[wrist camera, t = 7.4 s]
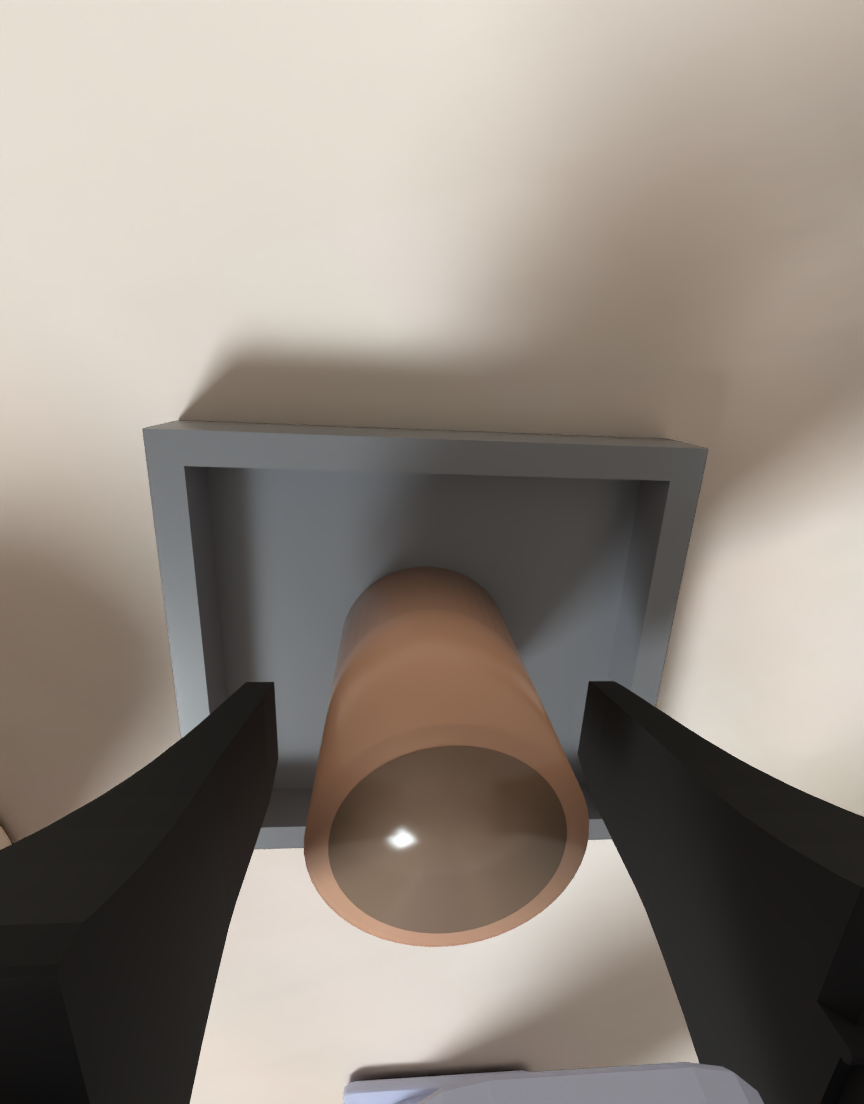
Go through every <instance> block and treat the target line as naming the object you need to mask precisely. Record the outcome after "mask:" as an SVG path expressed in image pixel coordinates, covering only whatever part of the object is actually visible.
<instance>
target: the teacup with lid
mask: <svg viewBox="0 0 864 1104" xmlns="http://www.w3.org/2000/svg"><path fill="white" fill-rule="evenodd" d="M9 845H12V843H11V841H10V839H9V838H8V836H7V834H6V833H5V831H4V830H3V828H2V827H1V826H0V850H1V849H3V848H5V847H7V846H9Z"/></svg>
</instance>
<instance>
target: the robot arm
mask: <svg viewBox="0 0 864 1104" xmlns="http://www.w3.org/2000/svg"><path fill="white" fill-rule="evenodd" d="M578 758H579V761H580V764H581V767H582V770H583V773H584V777H585V779H586V782H587V785H588V788H589V791H590V794H591V796H592V798H593V800H594V803H595V805H596V807H597V809H598V811H599V813H600V815H601V817H602V819H603V822H604V824H605V826H606V828H607V830H608V832H609V834H610V836H611V838H612V840H613V842H614V844H615V846H616V848H617V850H618V852H619V854H620V856H621V858H622V860H623V862H624V864H625V867H626V869H627V871H628V873H629V875H630V877H631V879H632V881H633V883H634V885H635V887H636V889H637V891H638V894H639V896H640V898H641V900H642V903H643V905H644V907H645V910H646V912H647V915H648V917H649V920H650V923H651V925H652V928H653V931H654V933H655V936H656V939H657V941H658V944H659V947H660V949H661V952H662V955H663V957H664V960H665V963H666V966H667V968H668V971H669V974H670V977H671V980H672V983H673V986H674V988H675V991H676V994H677V997H678V1000H679V1003H680V1005H681V1008H682V1011H683V1014H684V1017H685V1020H686V1023H687V1026H688V1029H689V1032H690V1035H691V1039H692V1042H693V1045H694V1048H695V1051H696V1054H697V1057H698V1060H699V1063H700V1064H697V1063H689V1062H678V1063H663V1064H647V1065H632V1066H617V1067H601V1068H586V1069H571V1070H555V1071H540V1072H528V1071H524V1070H519V1071H504V1072H488V1073H473V1074H457V1075H442V1076H427V1077H411V1078H396V1079H380V1080H365V1081H354V1082H350V1083H348V1084H347V1085H346V1086H345V1088H344V1093H343V1104H864V817H863V816H860V815H857V814H855V813H852V812H850V811H847V810H845V809H842V808H840V807H838V806H835V805H833V804H831V803H828V802H826V801H824V800H821V799H819V798H817V797H814V796H812V795H810V794H807V793H805V792H803V791H801V790H799V789H797V788H794V787H792V786H790V785H788V784H786V783H784V782H782V781H780V780H778V779H776V778H774V777H772V776H770V775H768V774H766V773H764V772H762V771H760V770H758V769H756V768H754V767H752V766H750V765H749V764H747V763H745V762H743V761H741V760H739V759H738V758H736V757H734V756H732V755H731V754H729V753H727V752H726V751H724V750H722V749H720V748H719V747H717V746H715V745H714V744H712V743H710V742H709V741H707V740H705V739H704V738H702V737H701V736H699V735H697V734H696V733H694V732H693V731H691V730H689V729H688V728H686V727H685V726H683V725H682V724H680V723H679V722H677V721H676V720H674V719H672V718H671V717H669V716H668V715H666V714H665V713H663V712H662V711H660V710H659V709H657V708H656V707H654V706H653V705H651V704H650V703H649V702H647V701H646V700H644V699H643V698H641V697H639V696H638V695H636V694H635V693H633V692H632V691H630V690H629V689H627V688H625V687H624V686H622V685H620V684H619V683H617V682H615V681H589V683H588V690H587V696H586V702H585V709H584V715H583V722H582V728H581V735H580V741H579V747H578ZM278 759H279V757H278V740H277V722H276V704H275V686H274V682H246V683H245V684H243V685H242V686H241V687H240V688H239V689H238V690H237V691H235V692H234V693H233V694H232V695H231V696H230V697H229V698H228V699H226V700H225V701H224V702H223V703H222V704H221V705H220V706H219V707H218V708H216V709H215V710H214V711H213V712H212V713H211V714H210V715H209V716H208V717H206V718H205V719H204V720H203V721H202V722H201V723H199V724H198V725H197V726H196V727H195V728H194V729H193V730H191V731H190V732H189V733H188V734H187V735H185V736H184V737H183V738H182V739H180V740H179V741H178V742H176V743H175V744H174V745H173V746H171V747H170V748H169V749H168V750H166V751H165V752H164V753H162V754H161V755H160V756H159V757H157V758H156V759H155V760H153V761H152V762H151V763H149V764H148V765H147V766H145V767H144V768H142V769H141V770H140V771H138V772H137V773H135V774H134V775H132V776H131V777H129V778H128V779H126V780H125V781H123V782H122V783H120V784H119V785H117V786H116V787H114V788H113V789H111V790H110V791H108V792H106V793H105V794H103V795H102V796H100V797H98V798H97V799H95V800H93V801H91V802H90V803H88V804H86V805H84V806H83V807H81V808H79V809H77V810H76V811H74V812H72V813H70V814H68V815H67V816H65V817H63V818H61V819H60V820H58V821H56V822H54V823H53V824H51V825H49V826H47V827H45V828H43V829H41V830H40V831H38V832H36V833H34V834H32V835H30V836H28V837H26V838H24V839H22V840H20V841H18V842H16V843H14V844H12V845H9V846H7V847H5V848H3V849H1V850H0V1104H189V1103H190V1099H191V1094H192V1089H193V1084H194V1079H195V1075H196V1070H197V1065H198V1060H199V1055H200V1051H201V1046H202V1041H203V1037H204V1032H205V1028H206V1023H207V1019H208V1014H209V1010H210V1005H211V1001H212V997H213V992H214V988H215V983H216V979H217V975H218V970H219V966H220V962H221V958H222V953H223V949H224V945H225V941H226V937H227V932H228V928H229V924H230V921H231V918H232V914H233V911H234V907H235V904H236V901H237V898H238V895H239V892H240V889H241V886H242V883H243V880H244V877H245V874H246V871H247V868H248V865H249V862H250V859H251V856H252V853H253V851H254V848H255V845H256V842H257V839H258V836H259V833H260V830H261V827H262V824H263V821H264V818H265V815H266V812H267V808H268V805H269V802H270V798H271V793H272V789H273V784H274V779H275V774H276V769H277V764H278Z"/></svg>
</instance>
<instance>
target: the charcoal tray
mask: <svg viewBox="0 0 864 1104" xmlns="http://www.w3.org/2000/svg"><path fill="white" fill-rule="evenodd" d="M142 429H143V437H144V445H145V453H146V461H147V469H148V477H149V485H150V493H151V501H152V509H153V517H154V525H155V533H156V541H157V549H158V557H159V565H160V573H161V581H162V589H163V598H164V606H165V614H166V622H167V630H168V638H169V646H170V654H171V662H172V670H173V678H174V686H175V694H176V702H177V710H178V718H179V726H180V734H181V739H182V738H183V737H184V736H185V735H187V734H188V733H189V732H190V731H191V730H193V729H194V728H195V727H196V726H197V725H198V724H199V723H201V722H202V721H203V720H204V719H205V718H206V717H208V716H209V715H210V714H211V713H212V712H213V711H214V710H215V709H216V708H218V707H219V706H220V705H221V704H222V703H223V702H224V701H225V700H226V699H228V698H229V697H230V696H231V695H232V694H233V693H234V692H235V691H237V690H238V689H239V688H240V687H241V686H242V685H243V684H245V683H246V682H274V686H275V704H276V722H277V740H278V757H279V759H278V764H277V769H276V774H275V779H274V784H273V789H272V793H271V798H270V802H269V805H268V808H267V812H266V815H265V818H264V821H263V824H262V827H261V830H260V833H259V836H258V839H257V842H256V845H255V848H254V849H281V848H304V834H305V828H306V822H307V817H308V811H309V806H310V801H311V795H312V790H313V785H314V779H315V774H316V769H317V763H318V758H319V753H320V747H321V742H322V737H323V731H324V726H325V721H326V715H327V710H328V704H329V699H330V694H331V688H332V683H333V678H334V672H335V667H336V662H337V656H338V651H339V646H340V640H341V635H342V630H343V625H344V622H345V619H346V617H347V614H348V612H349V610H350V608H351V607H352V605H353V604H354V602H355V601H356V599H357V598H358V597H359V596H360V595H361V594H362V593H363V592H364V591H365V590H366V589H367V588H368V587H369V586H371V585H372V584H373V583H375V582H376V581H378V580H379V579H381V578H383V577H385V576H387V575H389V574H391V573H394V572H397V571H400V570H403V569H408V568H413V567H439V568H445V569H449V570H452V571H456V572H458V573H461V574H463V575H465V576H467V577H469V578H470V579H472V580H474V581H475V582H477V583H478V584H479V585H480V586H482V587H483V588H484V589H485V590H486V591H487V592H488V593H489V594H490V596H491V597H492V598H493V600H494V601H495V603H496V604H497V606H498V608H499V610H500V612H501V614H502V616H503V619H504V621H505V623H506V625H507V627H508V630H509V632H510V634H511V636H512V638H513V641H514V643H515V645H516V647H517V649H518V652H519V654H520V656H521V658H522V660H523V663H524V665H525V667H526V669H527V671H528V674H529V676H530V678H531V680H532V682H533V685H534V687H535V689H536V691H537V693H538V696H539V698H540V700H541V702H542V704H543V707H544V709H545V711H546V713H547V715H548V718H549V720H550V722H551V724H552V726H553V728H554V731H555V733H556V735H557V737H558V739H559V742H560V744H561V746H562V748H563V750H564V753H565V755H566V757H567V759H568V761H569V764H570V766H571V768H572V770H573V772H574V775H575V777H576V779H577V781H578V783H579V786H580V788H581V790H582V792H583V795H584V798H585V801H586V805H587V808H588V816H589V837H588V840H601V839H612V838H611V836H610V834H609V832H608V830H607V828H606V826H605V824H604V822H603V819H602V817H601V815H600V813H599V811H598V809H597V807H596V805H595V803H594V800H593V798H592V796H591V794H590V791H589V788H588V785H587V782H586V779H585V777H584V773H583V770H582V767H581V764H580V761H579V758H578V747H579V741H580V735H581V728H582V722H583V715H584V709H585V702H586V696H587V690H588V683H589V681H615V682H617V683H619V684H620V685H622V686H624V687H625V688H627V689H629V690H630V691H632V692H633V693H635V694H636V695H638V696H639V697H641V698H643V699H644V700H646V701H647V702H649V703H650V704H651V705H653V706H654V707H655V706H656V701H657V696H658V691H659V686H660V681H661V677H662V672H663V667H664V662H665V657H666V652H667V647H668V643H669V638H670V633H671V628H672V623H673V618H674V614H675V609H676V604H677V599H678V594H679V589H680V584H681V580H682V575H683V570H684V565H685V560H686V555H687V550H688V546H689V541H690V536H691V531H692V526H693V521H694V517H695V512H696V507H697V502H698V497H699V492H700V487H701V483H702V478H703V473H704V468H705V463H706V458H707V453H708V449H707V448H703V447H699V446H695V445H691V444H687V443H683V442H678V441H674V440H670V439H659V438H632V437H606V436H579V435H552V434H526V433H499V432H472V431H446V430H419V429H392V428H366V427H339V426H312V425H286V424H259V423H232V422H206V421H179V420H176V421H172V422H168V423H164V424H159V425H155V426H151V427H146V428H142Z"/></svg>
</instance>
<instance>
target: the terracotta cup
mask: <svg viewBox="0 0 864 1104" xmlns="http://www.w3.org/2000/svg"><path fill="white" fill-rule="evenodd" d="M588 837H589V816H588V808H587V805H586V801H585V798H584V795H583V792H582V790H581V788H580V786H579V783H578V781H577V779H576V777H575V775H574V772H573V770H572V768H571V766H570V764H569V761H568V759H567V757H566V755H565V753H564V750H563V748H562V746H561V744H560V742H559V739H558V737H557V735H556V733H555V731H554V728H553V726H552V724H551V722H550V720H549V718H548V715H547V713H546V711H545V709H544V707H543V704H542V702H541V700H540V698H539V696H538V693H537V691H536V689H535V687H534V685H533V682H532V680H531V678H530V676H529V674H528V671H527V669H526V667H525V665H524V663H523V660H522V658H521V656H520V654H519V652H518V649H517V647H516V645H515V643H514V641H513V638H512V636H511V634H510V632H509V630H508V627H507V625H506V623H505V621H504V619H503V616H502V614H501V612H500V610H499V608H498V606H497V604H496V603H495V601H494V600H493V598H492V597H491V596H490V594H489V593H488V592H487V591H486V590H485V589H484V588H483V587H482V586H480V585H479V584H478V583H477V582H475V581H474V580H472V579H470V578H469V577H467V576H465V575H463V574H461V573H458V572H456V571H452V570H449V569H445V568H439V567H413V568H408V569H403V570H400V571H397V572H394V573H391V574H389V575H387V576H385V577H383V578H381V579H379V580H378V581H376V582H375V583H373V584H372V585H371V586H369V587H368V588H367V589H366V590H365V591H364V592H363V593H362V594H361V595H360V596H359V597H358V598H357V599H356V601H355V602H354V604H353V605H352V607H351V608H350V610H349V612H348V614H347V617H346V619H345V622H344V625H343V630H342V635H341V640H340V646H339V651H338V656H337V662H336V667H335V672H334V678H333V683H332V688H331V694H330V699H329V704H328V710H327V715H326V721H325V726H324V731H323V737H322V742H321V747H320V753H319V758H318V763H317V769H316V774H315V779H314V785H313V790H312V795H311V801H310V806H309V811H308V817H307V822H306V828H305V834H304V856H305V861H306V867H307V870H308V873H309V875H310V878H311V881H312V883H313V884H314V886H315V888H316V890H317V891H318V893H319V895H320V896H321V897H322V898H323V900H324V901H325V902H326V903H327V905H328V906H329V907H330V908H331V909H332V910H333V911H334V912H336V913H337V914H338V915H339V916H340V917H341V918H343V919H344V920H346V921H347V922H348V923H350V924H351V925H353V926H355V927H357V928H358V929H360V930H362V931H364V932H366V933H368V934H371V935H373V936H376V937H378V938H381V939H385V940H388V941H392V942H396V943H401V944H407V945H413V946H426V947H441V946H454V945H463V944H468V943H473V942H477V941H482V940H485V939H488V938H491V937H495V936H498V935H500V934H502V933H505V932H507V931H510V930H512V929H514V928H516V927H518V926H520V925H521V924H523V923H525V922H527V921H529V920H530V919H532V918H533V917H535V916H536V915H537V914H539V913H540V912H542V911H543V910H544V909H545V908H547V907H548V906H549V905H550V904H551V903H552V902H554V901H555V899H556V898H557V897H558V896H559V895H560V894H561V893H562V892H563V891H564V890H565V888H566V887H567V886H568V884H569V883H570V882H571V880H572V879H573V877H574V876H575V874H576V872H577V870H578V868H579V866H580V865H581V862H582V859H583V857H584V854H585V851H586V847H587V842H588Z"/></svg>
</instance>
